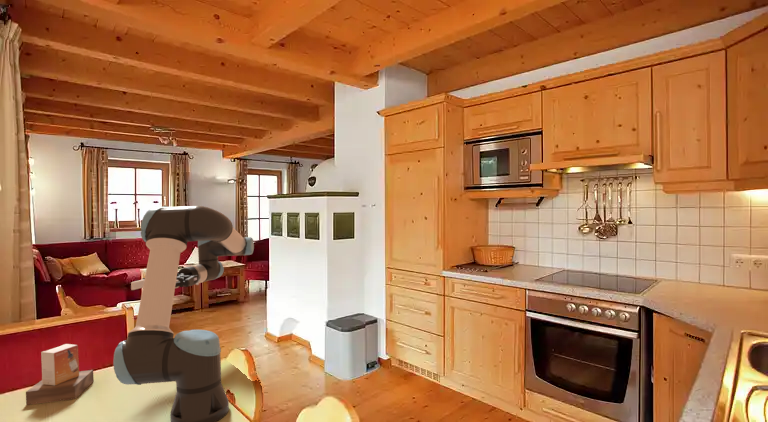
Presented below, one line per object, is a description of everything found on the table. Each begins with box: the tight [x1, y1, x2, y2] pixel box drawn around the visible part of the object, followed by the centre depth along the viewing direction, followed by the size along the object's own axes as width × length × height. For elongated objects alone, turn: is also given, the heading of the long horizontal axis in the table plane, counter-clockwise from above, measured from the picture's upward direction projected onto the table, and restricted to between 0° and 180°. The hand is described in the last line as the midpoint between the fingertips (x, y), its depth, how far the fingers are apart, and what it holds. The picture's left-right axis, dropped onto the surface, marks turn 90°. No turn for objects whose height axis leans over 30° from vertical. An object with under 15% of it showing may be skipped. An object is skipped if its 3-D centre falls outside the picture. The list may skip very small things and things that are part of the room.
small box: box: [40, 343, 80, 386], centre depth 133 cm, size 8×6×10 cm
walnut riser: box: [25, 369, 95, 406], centre depth 133 cm, size 13×13×4 cm
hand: (147, 286), depth 142 cm, fingers open, 13 cm apart
